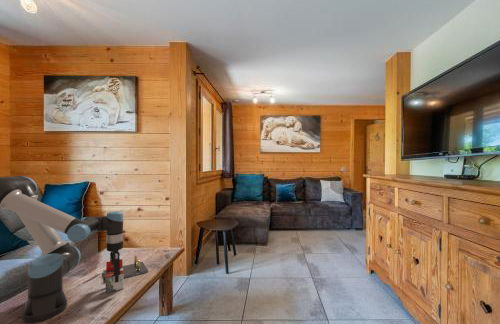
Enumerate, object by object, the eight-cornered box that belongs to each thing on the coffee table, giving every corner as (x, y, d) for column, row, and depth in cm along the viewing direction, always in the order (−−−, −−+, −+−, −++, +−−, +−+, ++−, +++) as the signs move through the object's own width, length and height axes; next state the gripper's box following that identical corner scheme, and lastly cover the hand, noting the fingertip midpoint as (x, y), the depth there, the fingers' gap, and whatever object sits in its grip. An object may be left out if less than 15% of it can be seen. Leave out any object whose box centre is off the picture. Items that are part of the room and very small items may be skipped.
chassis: (105, 282, 130) (105, 269, 130) (103, 272, 143) (103, 260, 143) (148, 272, 143) (148, 260, 143) (142, 263, 156) (142, 252, 156)
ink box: (123, 289, 123) (123, 260, 123) (105, 293, 119) (106, 264, 119) (122, 286, 126) (123, 258, 126) (105, 290, 122) (105, 262, 122)
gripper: (127, 246, 115) (126, 290, 115) (119, 234, 135) (119, 272, 135) (109, 249, 111) (108, 295, 110) (104, 237, 131) (104, 275, 130)
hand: (114, 282), depth 123 cm, fingers open, 13 cm apart
